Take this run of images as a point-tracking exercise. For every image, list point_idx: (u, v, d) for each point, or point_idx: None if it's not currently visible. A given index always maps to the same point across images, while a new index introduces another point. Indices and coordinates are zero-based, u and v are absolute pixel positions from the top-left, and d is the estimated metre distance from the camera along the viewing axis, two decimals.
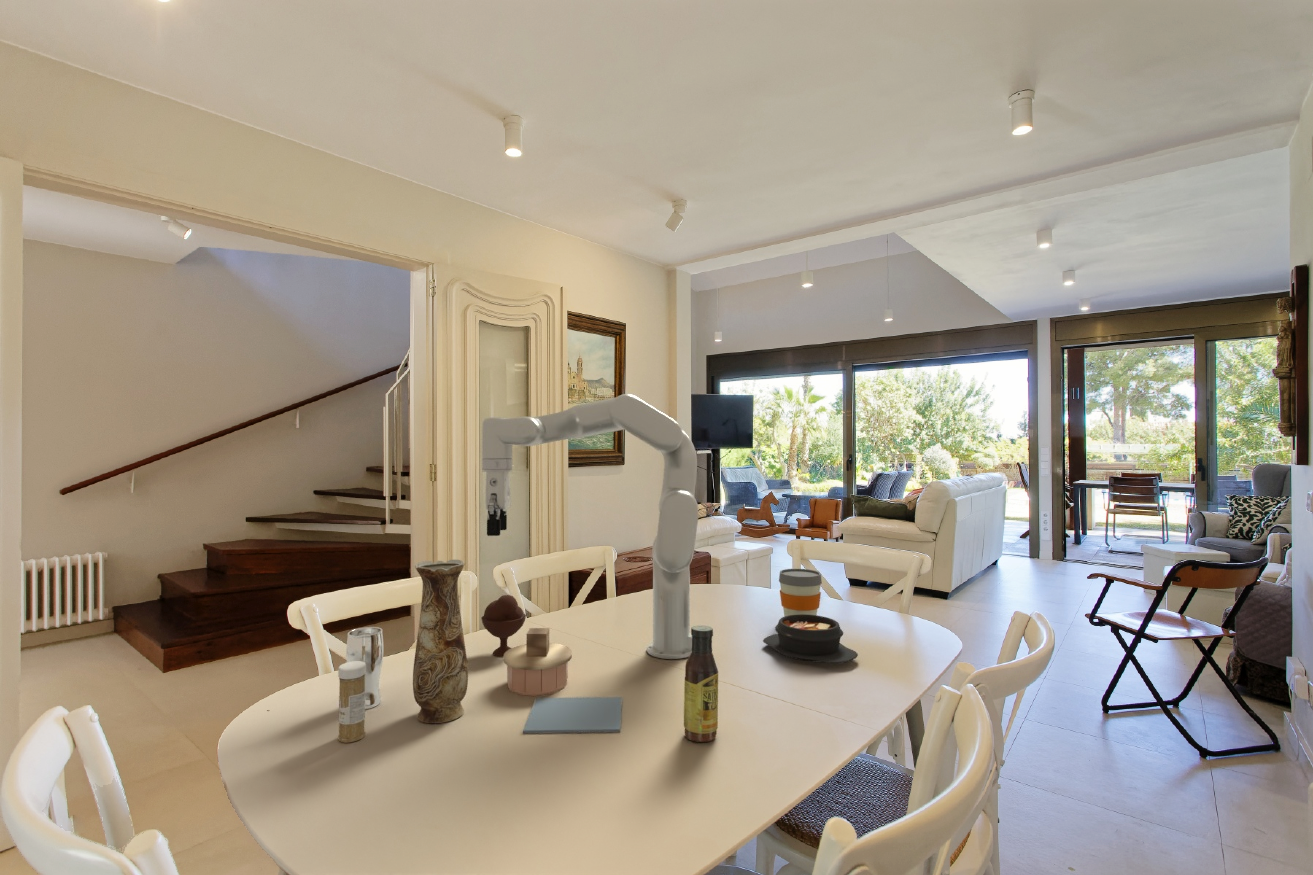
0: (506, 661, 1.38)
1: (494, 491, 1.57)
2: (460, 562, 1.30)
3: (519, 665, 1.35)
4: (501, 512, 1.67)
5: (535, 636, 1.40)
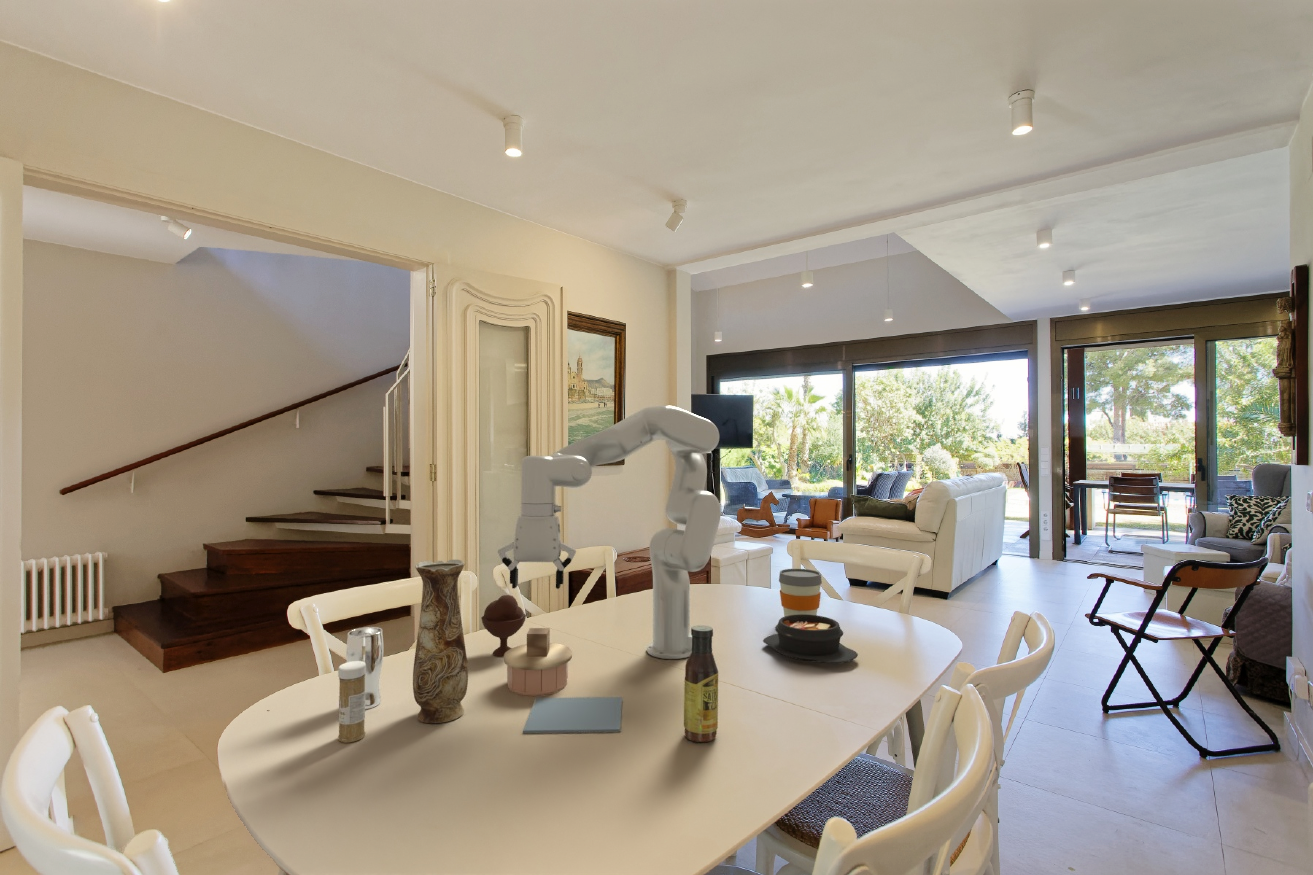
0: (506, 661, 1.38)
1: (560, 538, 1.43)
2: (460, 562, 1.30)
3: (519, 665, 1.35)
4: (515, 566, 1.42)
5: (535, 636, 1.40)
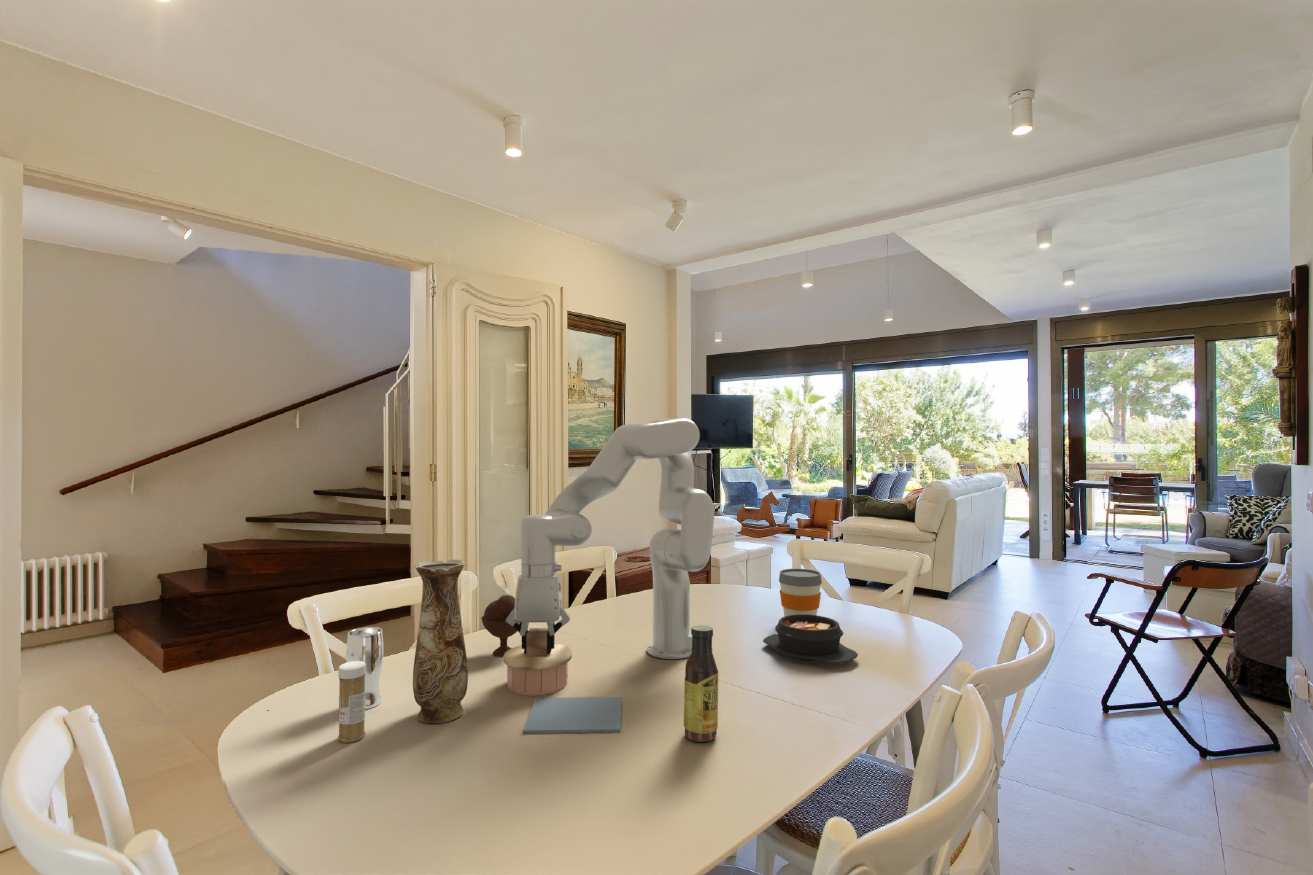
0: (506, 661, 1.38)
1: (560, 597, 1.43)
2: (460, 562, 1.30)
3: (519, 665, 1.35)
4: (526, 629, 1.43)
5: (535, 636, 1.40)
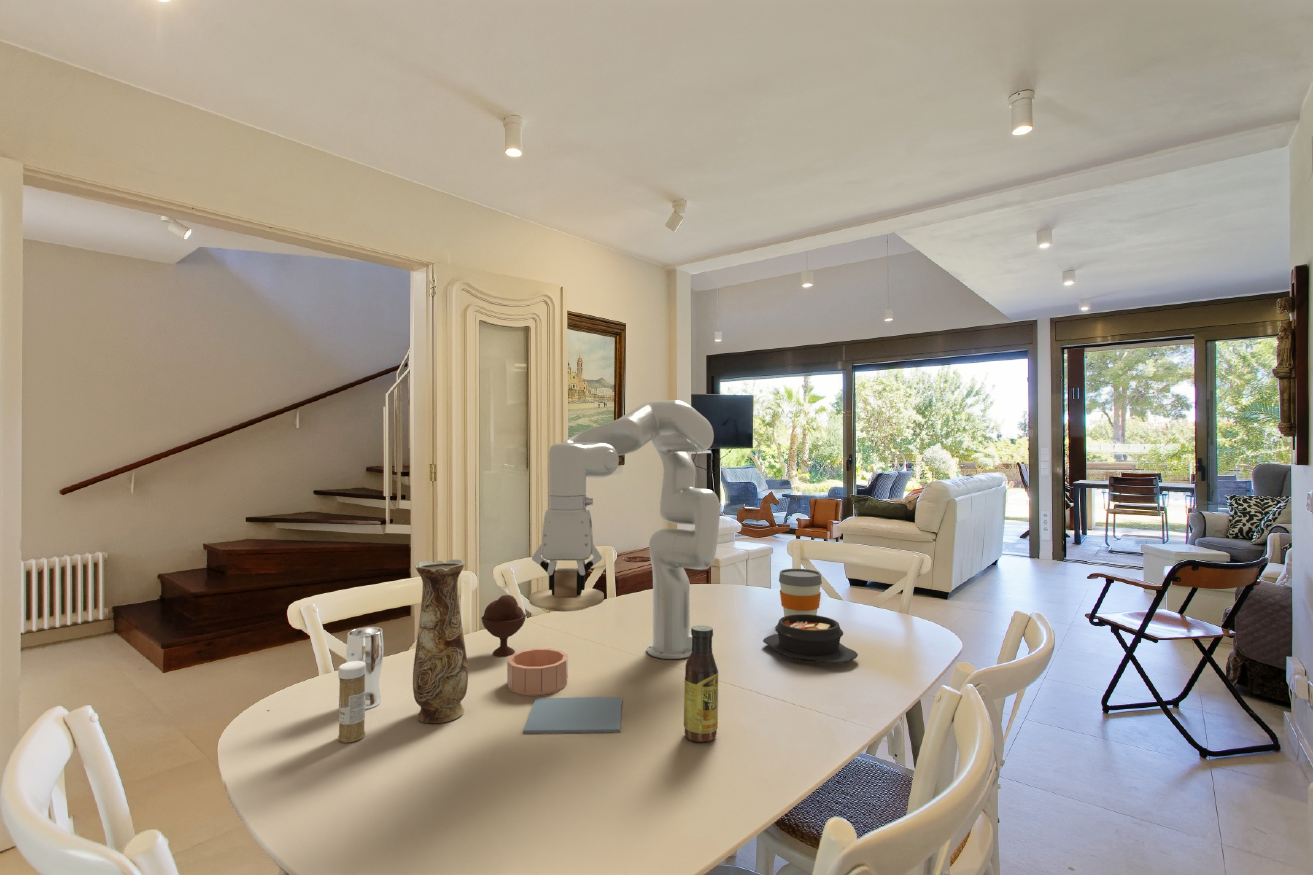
0: (532, 602, 1.25)
1: (591, 534, 1.30)
2: (460, 562, 1.30)
3: (547, 605, 1.22)
4: (554, 568, 1.30)
5: (563, 575, 1.27)
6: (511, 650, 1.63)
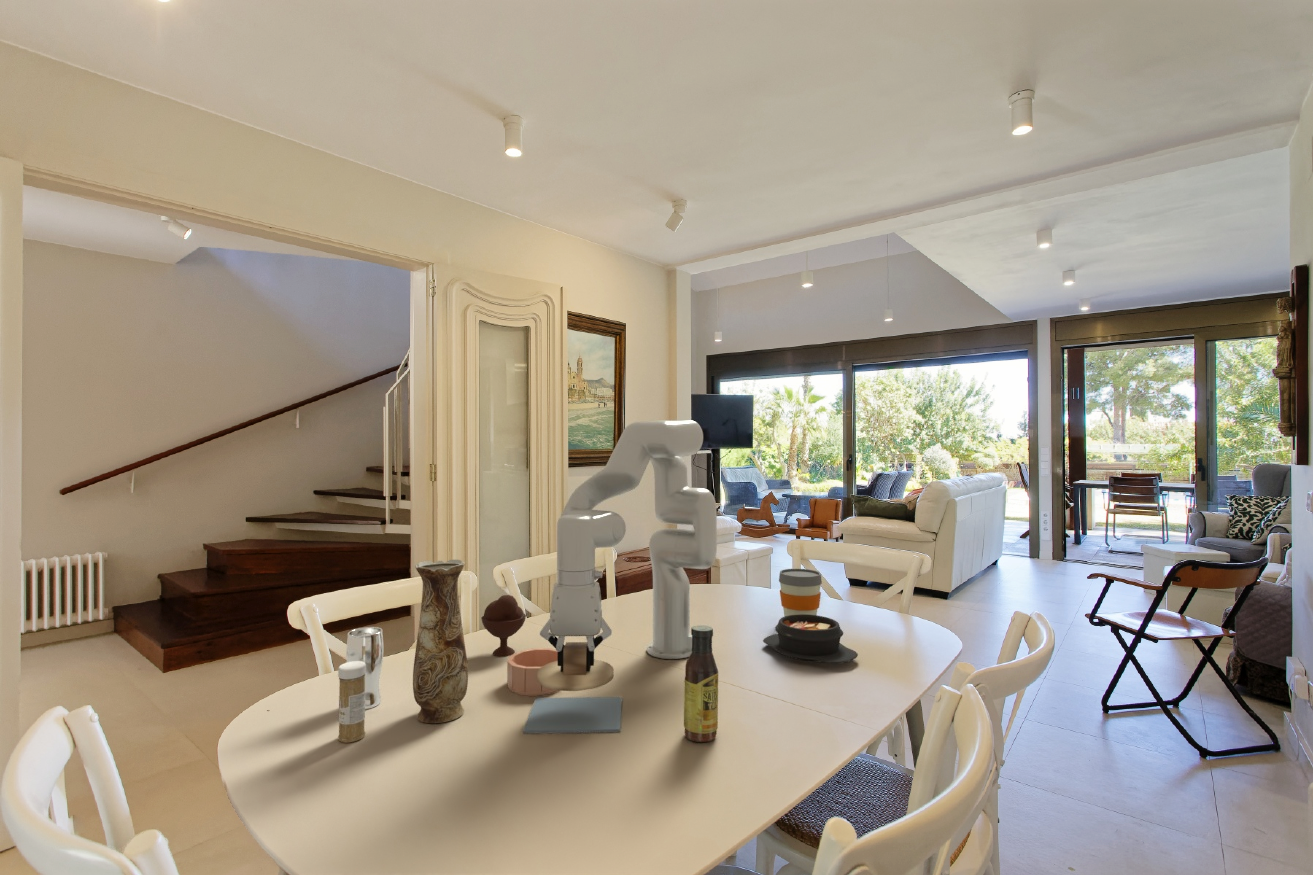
0: (541, 681, 1.22)
1: (601, 607, 1.27)
2: (460, 562, 1.30)
3: (556, 685, 1.19)
4: (563, 643, 1.26)
5: (573, 652, 1.24)
6: (511, 650, 1.63)
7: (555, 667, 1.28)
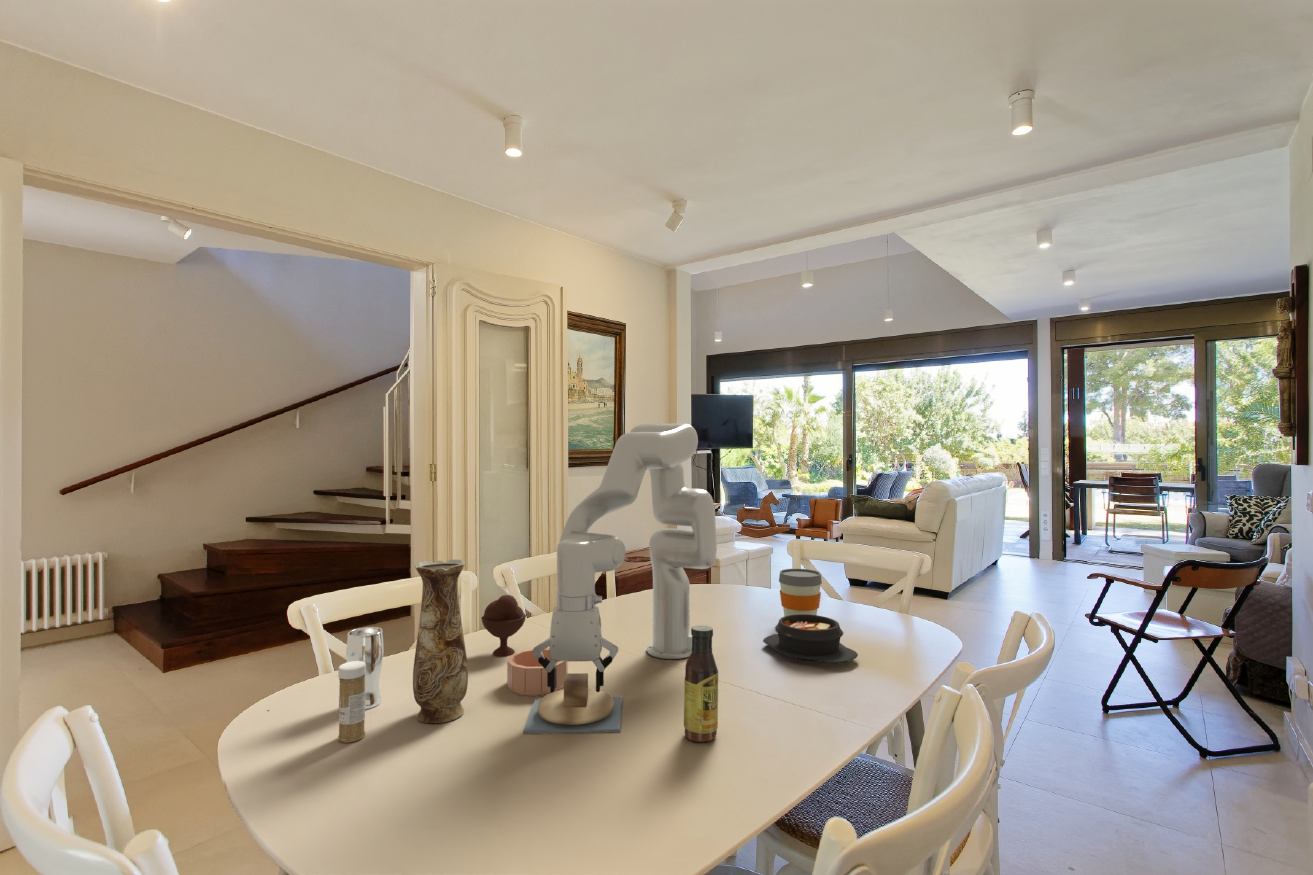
0: (541, 714, 1.22)
1: None
2: (460, 562, 1.30)
3: (557, 719, 1.19)
4: None
5: (573, 684, 1.24)
6: (511, 650, 1.63)
7: (555, 698, 1.28)
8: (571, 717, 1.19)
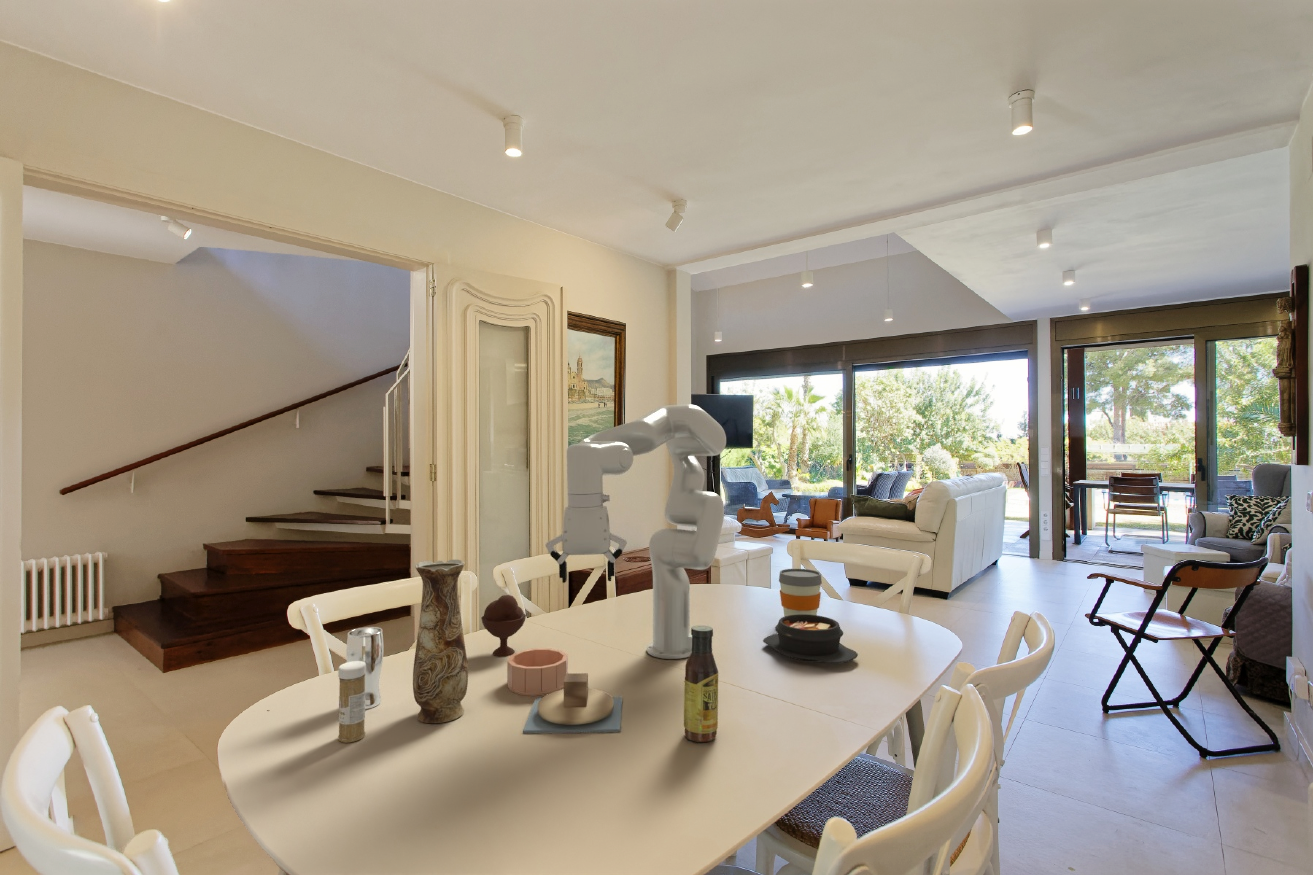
0: (541, 714, 1.22)
1: (609, 529, 1.37)
2: (460, 562, 1.30)
3: (557, 719, 1.19)
4: None
5: (573, 684, 1.24)
6: (511, 650, 1.63)
7: (555, 698, 1.28)
8: (571, 717, 1.19)
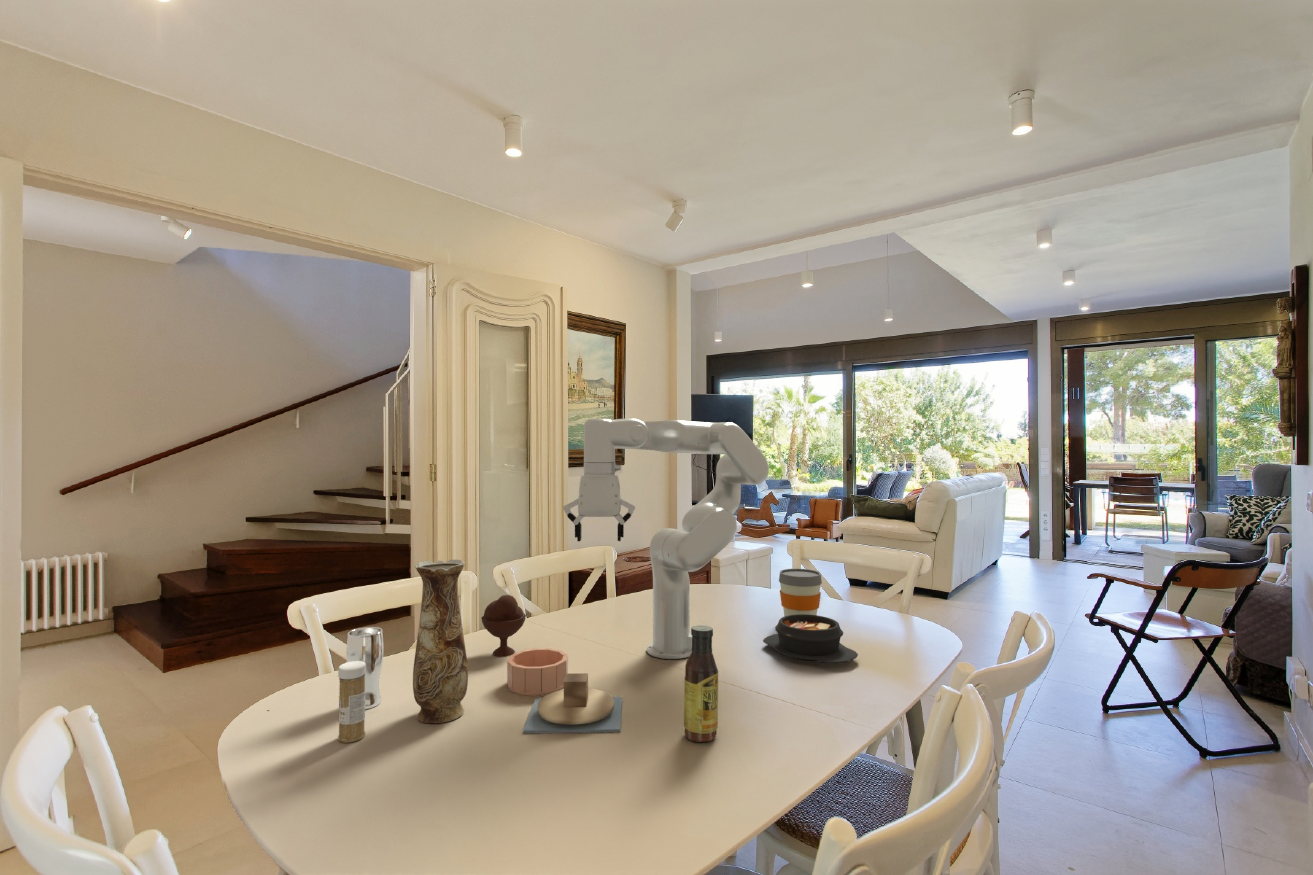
0: (541, 714, 1.22)
1: None
2: (460, 562, 1.30)
3: (557, 719, 1.19)
4: None
5: (573, 684, 1.24)
6: (511, 650, 1.63)
7: (555, 698, 1.28)
8: (571, 717, 1.19)
